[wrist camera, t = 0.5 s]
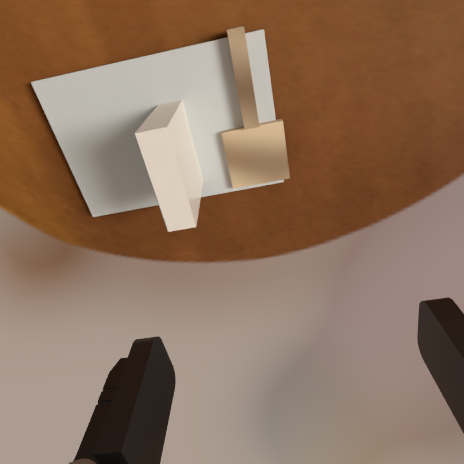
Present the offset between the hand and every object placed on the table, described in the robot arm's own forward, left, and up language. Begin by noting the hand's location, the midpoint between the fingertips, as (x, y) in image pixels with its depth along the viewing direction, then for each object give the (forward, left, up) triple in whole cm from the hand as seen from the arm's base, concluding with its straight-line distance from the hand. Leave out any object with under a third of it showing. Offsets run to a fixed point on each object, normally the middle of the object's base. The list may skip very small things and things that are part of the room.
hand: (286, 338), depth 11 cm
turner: (-2, 0, -21) cm, 21 cm away
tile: (-1, -6, -21) cm, 22 cm away
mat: (-2, -7, -22) cm, 23 cm away
